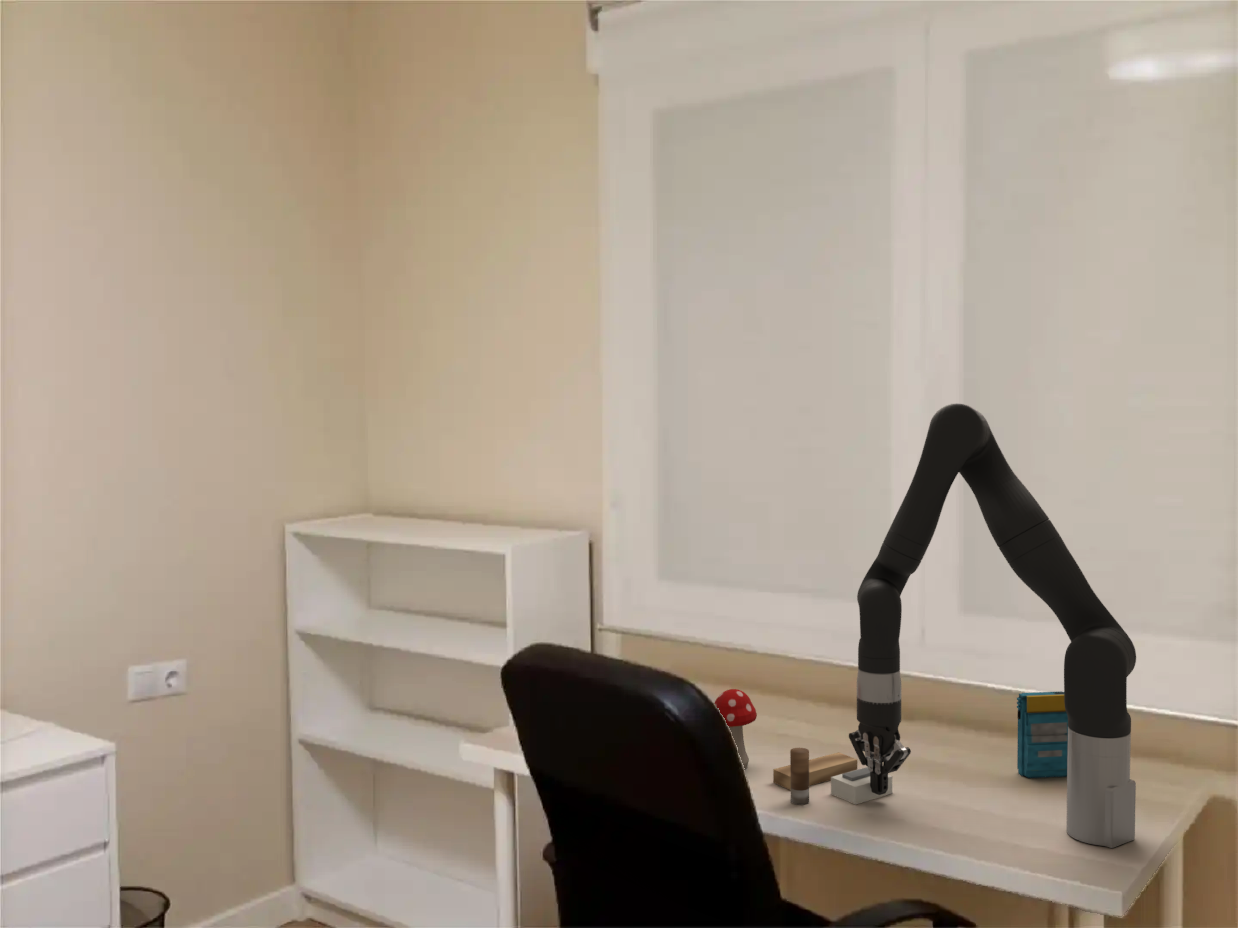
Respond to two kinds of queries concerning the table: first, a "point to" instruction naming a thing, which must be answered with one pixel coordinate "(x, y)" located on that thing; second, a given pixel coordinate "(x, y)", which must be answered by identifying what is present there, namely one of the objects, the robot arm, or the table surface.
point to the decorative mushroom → (737, 716)
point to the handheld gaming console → (1042, 735)
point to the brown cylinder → (799, 775)
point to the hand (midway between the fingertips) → (878, 792)
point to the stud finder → (856, 786)
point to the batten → (818, 769)
